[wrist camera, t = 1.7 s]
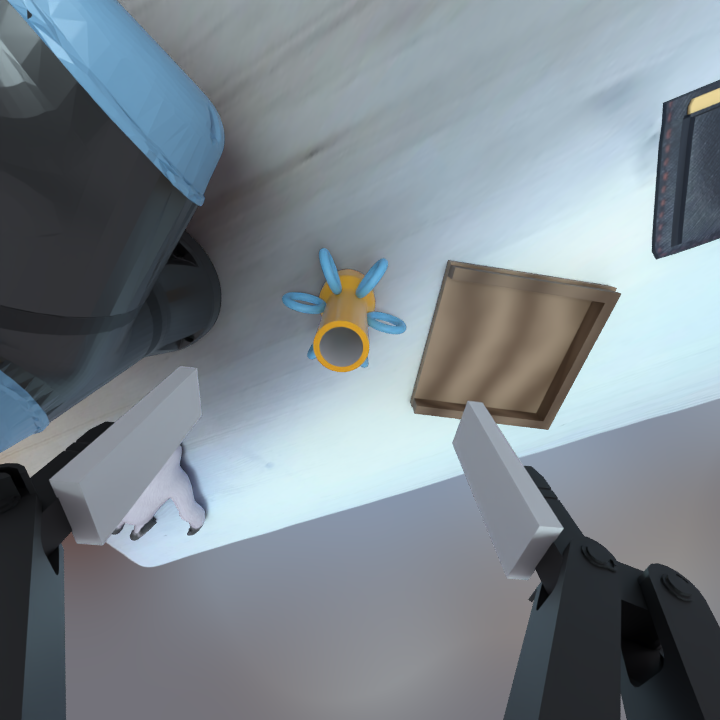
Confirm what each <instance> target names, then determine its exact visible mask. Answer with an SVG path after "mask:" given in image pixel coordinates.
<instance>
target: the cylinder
mask: <svg viewBox="0 0 720 720" xmlns="http://www.w3.org/2000/svg"><path fill="white" fill-rule="evenodd" d="M319 259H320V263H321V267H322V270H323V273H324V276H325V278H326V282H325V284H324V286H323V288H322V290H321V292H320V295H319V297H316V296H314V295H310V294H306V293H300V292H290V293H286V294H285V295H284V296H283V297H282V301H283V303H284V304H285V305H286V306H287V307H289V308H291V309H293V310H295V311H298V312H302V313H308V314H319V313H320V314H321V316H322V318H321V321H320V324H319V327H318V330H317V333H316V335H315V338H314V342H313V344H312V345H311V347H310V349H309V351H308V354H307V356H308V358H309V359H315V358H317V359H318V361H319V362H320V363H321V364H322V365H323V366H324V367H326V368H328V369H330V370H332V371H336V372H348V371H352V370H354V369H356V368H358V367H359V366H361V367H363V368H365V367H367V366H368V353H369V336H368V325H369V326H370V327H372V328H374V329H376V330H378V331H381V332H385V333H389V334H401V333H403V332H405V330H406V325H405V323H404V322H403V321H402V320H400V319H399V318H397V317H395V316H392V315H389V314H386V313H382V312H374V311H375V296H374V290H373V288H374V287H375V286H376V284H377V283H378V282H379V280H380V279H381V278H382V276H383V275H384V273H385V271H386V269H387V267H388V261H387V260H386V259H384V258H383V259H380V260H379V261H377V262H376V263H375V264H374V265H373V267H372V268H371V269H370V270H369V271H368V273H367V274H366V275H363V274H362V273H360V272H358V271H356V270H352V269H343V270H339V271H337V269H336V266H335V263H334V261H333V259H332V256H331V254H330V253H329V251H328V250H327V249H326V248H322V249H320V251H319ZM293 300H301V301H307V302H310V303H313V304H315V305H306V304H302V303H298V302H296V301H293ZM375 319H378V320H383V321H387V322H389V323H392V324H394V325H396V326H391V325H387V324H383V323H381V322H378V321H376V320H375Z"/></svg>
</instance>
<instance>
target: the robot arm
mask: <svg viewBox="0 0 720 720" xmlns="http://www.w3.org/2000/svg"><path fill="white" fill-rule="evenodd" d="M224 140H225V136H224V129H223V125H222V121H221V118H220V116H219V114H218V112H217V110H216V109H215V107H214V105H213V104H212V102H211V101H210V100H209V99H208V97H207V96H206V95H205V94H204V93H203V92H202V91H201V90H200V88H199V87H198V86H197V85H196V84H195V83H194V82H193V81H192V80H191V79H190V78H189V77H188V76H187V75H186V73H185V72H184V71H183V70H182V69H181V68H180V67H179V66H178V65H177V64H176V63H175V62H174V61H173V60H172V59H171V57H170V56H169V55H168V54H167V53H166V52H165V51H164V50H163V49H162V48H161V47H160V46H159V45H158V44H157V43H156V41H155V40H154V39H153V38H152V37H151V36H150V35H149V34H148V33H147V32H146V31H145V30H144V29H143V28H142V27H141V26H140V25H139V24H138V22H137V21H136V20H135V19H134V18H133V17H132V16H131V15H130V14H129V13H128V12H127V11H126V10H125V9H124V8H123V7H122V5H121V4H120V3H119V2H118V1H117V0H0V453H1V452H3V451H5V450H6V449H8V448H10V447H11V446H13V445H14V444H16V443H18V442H20V441H21V440H23V439H25V438H27V437H28V436H30V435H32V434H36V433H40V432H41V431H43V430H44V429H45V428H46V427H47V426H48V425H49V423H50V422H51V421H53V420H54V419H56V418H57V417H59V416H60V415H61V414H63V413H64V412H66V411H67V410H69V409H70V408H72V407H73V406H74V405H76V404H77V403H79V402H80V401H82V400H83V399H85V398H86V397H88V396H89V395H90V394H92V393H93V392H95V391H96V390H98V389H99V388H101V387H102V386H103V385H105V384H106V383H108V382H109V381H111V380H112V379H114V378H115V377H116V376H118V375H119V374H121V373H122V372H124V371H125V370H127V369H128V368H130V367H131V366H132V365H134V364H135V363H137V362H138V361H139V360H141V359H142V358H144V357H147V356H152V355H158V354H163V353H168V352H173V351H177V350H180V349H183V348H186V347H188V346H190V345H192V344H193V343H195V342H196V341H197V340H199V339H200V338H201V337H202V336H204V335H205V334H206V333H207V332H208V331H209V330H210V329H211V328H212V326H213V325H214V323H215V321H216V319H217V317H218V314H219V311H220V305H221V290H220V284H219V280H218V277H217V274H216V271H215V269H214V267H213V264H212V263H211V261H210V259H209V257H208V256H207V254H206V253H205V251H204V250H203V249H202V248H201V246H200V245H199V244H198V243H197V242H196V241H195V240H194V239H193V238H192V237H191V236H190V235H189V234H188V233H187V232H186V231H184V230H185V229H186V227H187V225H188V223H189V221H190V220H191V218H192V216H193V214H194V212H195V211H196V209H197V207H198V206H202V205H203V203H204V200H205V197H204V192H205V190H206V187H207V185H208V182H209V180H210V178H211V176H212V174H213V172H214V170H215V167H216V165H217V163H218V161H219V159H220V157H221V154H222V152H223V149H224ZM201 416H202V408H201V399H200V390H199V381H198V372H197V368H194V367H186V366H179V367H178V368H177V369H176V370H175V371H174V372H173V373H171V374H170V375H169V376H168V377H167V378H166V379H165V380H163V381H162V382H161V383H160V384H159V385H158V386H156V387H155V388H154V389H153V390H152V391H151V392H150V393H148V394H147V395H146V396H145V397H144V398H143V399H142V400H140V401H139V402H138V403H137V404H136V405H135V406H133V407H132V408H131V409H130V410H129V411H128V412H127V413H125V414H124V415H123V416H122V417H121V418H120V419H118V420H117V421H116V422H104V423H102V424H100V425H98V426H96V427H94V428H92V429H90V430H89V431H87V432H86V433H85V434H84V435H82V436H81V437H80V438H79V439H78V440H77V441H76V443H75V442H74V443H73V444H71V445H70V446H69V447H68V448H66V451H63V452H62V453H60V454H59V455H58V456H57V457H55V458H54V459H53V460H52V461H50V462H49V463H48V464H47V465H46V466H44V467H43V468H42V469H41V470H39V471H38V472H37V473H36V474H34V475H33V476H32V477H31V478H30V477H29V475H28V473H27V471H26V469H25V467H24V466H22V465H20V464H17V463H5V464H0V720H66V687H65V617H64V616H65V614H64V549H63V547H62V544H61V542H62V541H63V540H64V539H65V538H66V537H67V536H68V535H69V534H70V532H71V531H72V534H73V536H74V538H75V540H76V543H79V544H93V545H103V544H104V543H105V542H106V540H107V539H108V538H109V537H110V535H111V534H112V533H113V531H114V530H115V529H116V527H117V526H118V525H119V523H120V522H121V521H122V520H123V518H124V517H125V516H126V514H127V513H128V512H129V510H130V509H131V508H132V507H133V505H134V504H135V503H136V501H137V500H138V499H139V497H140V496H141V495H142V493H143V492H144V491H145V490H146V488H147V487H148V486H149V484H150V483H151V482H152V480H153V479H154V478H155V476H156V475H157V474H158V473H159V471H160V470H161V469H162V467H163V466H164V465H165V463H166V462H167V461H168V459H169V458H170V457H171V456H172V454H173V453H174V452H175V450H176V449H177V448H178V446H179V445H180V444H181V442H182V441H183V440H184V439H185V437H186V436H187V435H188V433H189V432H190V431H191V429H192V428H193V427H194V425H195V424H196V423H197V422H198V420H199V419H200V418H201ZM452 444H453V446H454V449H455V451H456V454H457V456H458V459H459V461H460V463H461V466H462V468H463V471H464V473H465V476H466V478H467V481H468V483H469V486H470V488H471V491H472V493H473V496H474V498H475V501H476V503H477V505H478V508H479V511H480V513H481V516H482V518H483V521H484V523H485V525H486V528H487V530H488V533H489V535H490V538H491V540H492V543H493V545H494V548H495V550H496V553H497V555H498V558H499V560H500V563H501V565H502V568H503V570H504V573H505V575H506V578H510V579H522V580H529V578H530V577H531V575H532V574H533V572H534V571H535V569H536V571H537V573H538V575H539V578H540V580H541V583H540V584H539V585H538V587H537V588H536V589H535V591H534V592H533V594H532V595H531V597H530V598H529V601H531V602H532V601H533V600H534V602H533V606H532V610H531V615H530V618H529V622H528V626H527V630H526V634H525V637H524V641H523V645H522V649H521V653H520V657H519V661H518V665H517V668H516V672H515V676H514V680H513V684H512V688H511V692H510V696H509V700H508V704H507V707H506V711H505V715H504V719H503V720H620V696H622V700H623V704H624V709H625V714H626V718H627V720H720V627H719V625H718V623H717V621H716V619H715V617H714V615H713V613H712V611H711V610H710V608H709V606H708V604H707V602H706V600H705V599H704V597H703V596H702V594H701V593H700V591H699V590H698V589H697V588H696V587H695V586H694V585H693V584H692V583H691V582H690V581H689V580H687V579H686V578H685V577H684V576H682V575H681V574H679V573H678V572H676V571H675V570H673V569H671V568H669V567H668V566H664V565H661V564H651V565H650V566H649V567H648V568H647V569H646V570H645V571H641V570H639V569H636V568H633V567H631V566H628V565H626V564H623V563H620V562H618V561H616V559H615V557H614V556H613V555H612V554H611V553H610V552H609V551H608V550H607V549H606V548H605V547H604V546H602V545H601V544H599V543H598V542H597V541H594V540H593V539H590V538H588V537H585V536H584V535H583V534H582V532H581V531H580V529H579V528H578V526H577V525H576V524H575V522H574V521H573V519H572V518H571V516H570V515H569V513H568V512H567V511H566V509H565V508H564V507H563V505H562V503H561V502H560V500H558V498H557V496H556V495H555V494H554V492H553V491H551V487H550V486H549V485H548V483H547V482H546V480H545V479H544V477H543V476H542V475H540V474H539V473H538V472H537V471H536V470H535V469H534V468H533V467H531V466H523V465H522V463H521V461H520V460H519V458H518V457H517V455H516V454H515V452H514V451H513V449H512V447H511V446H510V444H509V443H508V441H507V440H506V438H505V437H504V435H503V433H502V432H501V430H500V429H499V427H498V426H497V424H496V423H495V421H494V420H493V418H492V416H491V415H490V413H489V412H488V410H487V409H486V407H485V406H484V404H483V403H482V402H474V401H467V404H466V407H465V410H464V412H463V415H462V418H461V421H460V423H459V426H458V429H457V432H456V434H455V437H454V440H453V443H452Z"/></svg>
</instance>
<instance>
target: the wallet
mask: <svg viewBox="0 0 720 720" xmlns="http://www.w3.org/2000/svg"><path fill="white" fill-rule="evenodd" d="M719 238H720V80H718V81H716V82H713V83H711V84H708V85H706V86H704V87H701V88H699V89H696V90H694V91H691V92H689V93H686V94H684V95H682V96H679V97H677V98H674V99H672V100H669V101H667V102H664V103H663V114H662V127H661V134H660V141H659V150H658V164H657V177H656V191H655V205H654V219H653V233H652V253H653V255H654V257H655V258H656V259H659V258H662V257H666V256H669V255H672V254H676V253H679V252H682V251H685V250H688V249H691V248H694V247H696V246H699V245H702V244H705V243H708V242H711V241H714V240H716V239H719Z"/></svg>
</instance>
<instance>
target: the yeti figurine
mask: <svg viewBox="0 0 720 720" xmlns="http://www.w3.org/2000/svg"><path fill="white" fill-rule="evenodd" d="M181 454H182V446H181V445H179V446H178V448H177V449H176V450H175V452H174V453H173V454H172V456H171V457H170V458H169V459H168V461H167V462H166V463H165V465H164V466H163V467H162V469H161V470H160V471H159V473H158V474H157V475H156V476H155V478H154V479H153V480H152V482H151V483H150V484H149V486H148V487H147V488H146V490H145V491H144V492H143V493H142V495H141V496H140V497H139V499H138V500H137V501H136V503H135V504H134V505H133V507H132V508H131V509H130V510H129V512H128V513H127V514H126V516H125V517H124V518H123V520H122V521H121V522H120V523H119V525H118V526H117V527H116V529H115V530H114V531H113V533H112V534H113V535H114V534H118V533H120V531H121V530H122V529H123V527H124V524H125V523H127V524H130V525H135V526H134V530H133V531H132V532H131V534H130V539H131V540H134V541H135V540H138V539H139V538H140V537H142V536H143V535H144V534H145V533H146V532H148V531H149V530H150V529H151V528H152V527H153V526H154V525H155V524H156V523H157V522H156V519H154V517H153V516H154V514H155V513H156V512H157V510H158V509H159V508H160V507H161V505H162V504H163V503H165V502H166V501H167V500H168V499H169V498H171V499H172V500H173V502H174V503H175V505H176V507H177V509H178V511H179V515H180V517H181V519H183V520H184V521H186V522H189V524H190V528H189V531H188V533H187V535H194V534H195V533H197V532H198V531H199V530H200V528H201V527H202V526H203V524H204V521H205V511H204V509H203V508H202V507H201V506H200V505H199V504H198V503H196V502H195V500H194V495H193V490H192V486H191V482H190V479H189V478H188V475H187V474H186V473H185V472H184V471H183V470H182V468H181V467H180V459H181ZM152 517H153V518H152Z"/></svg>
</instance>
